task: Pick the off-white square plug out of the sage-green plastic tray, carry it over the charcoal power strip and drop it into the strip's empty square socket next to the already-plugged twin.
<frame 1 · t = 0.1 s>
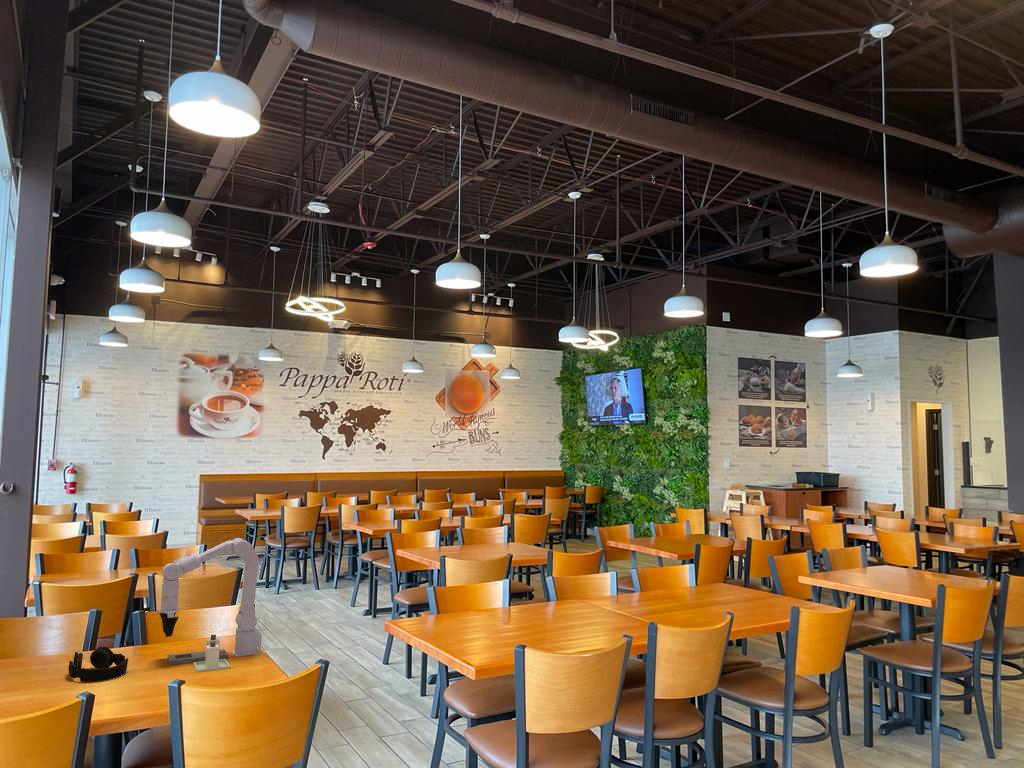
hand: (167, 634, 274), 10 cm above the table, tool pointing down, fingers open, 7 cm apart
plug: (211, 666, 267), resting on tray
headphones: (96, 675, 257), on the table
tray: (211, 667, 267), on the table
power strip: (197, 660, 277), on the table
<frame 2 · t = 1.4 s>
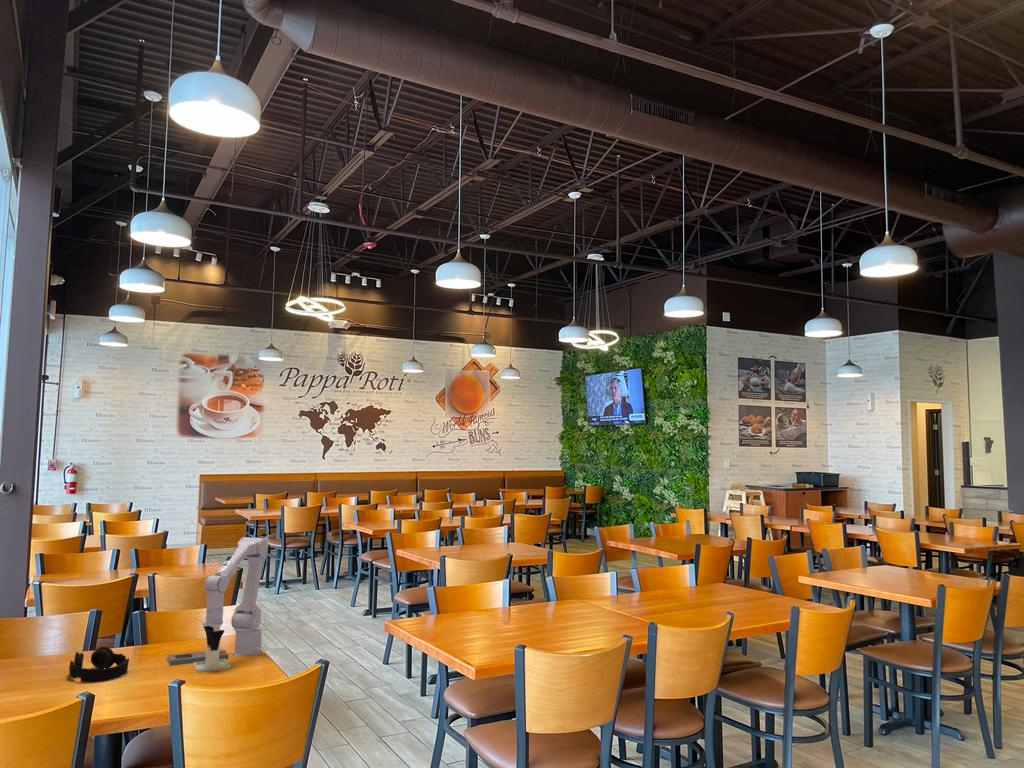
hand: (212, 648, 268), 7 cm above the table, tool pointing down, fingers open, 7 cm apart
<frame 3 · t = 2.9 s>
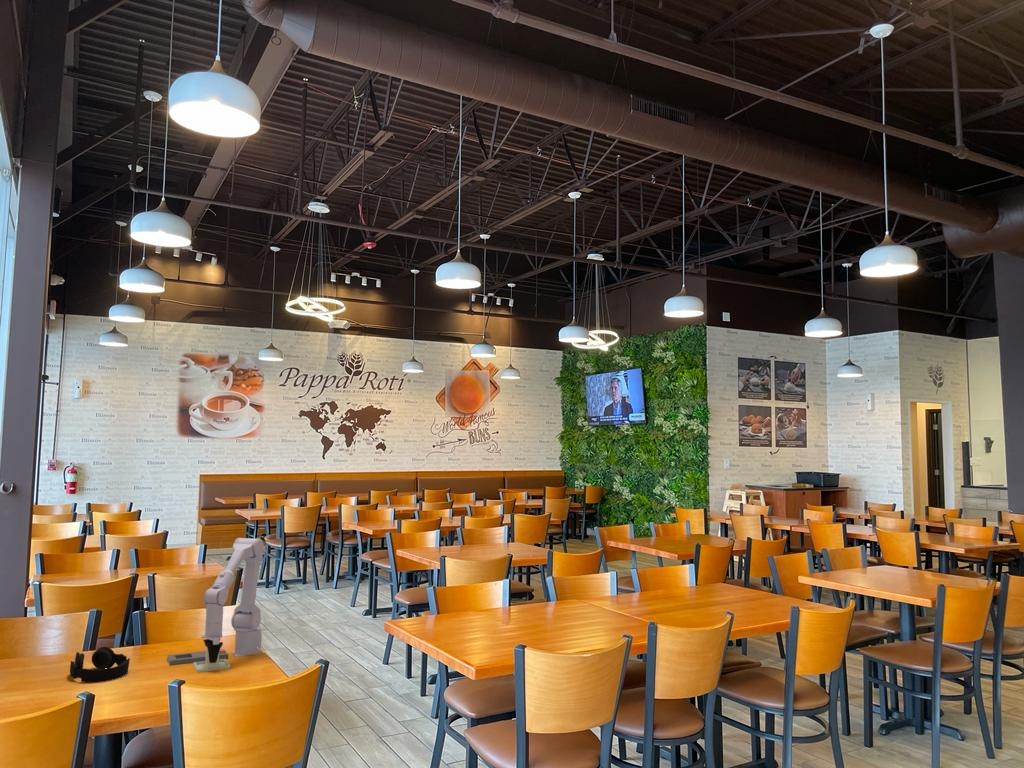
hand: (211, 661, 267), 2 cm above the table, tool pointing down, fingers closed on plug, 4 cm apart
plug: (211, 666, 267), resting on tray, touching gripper
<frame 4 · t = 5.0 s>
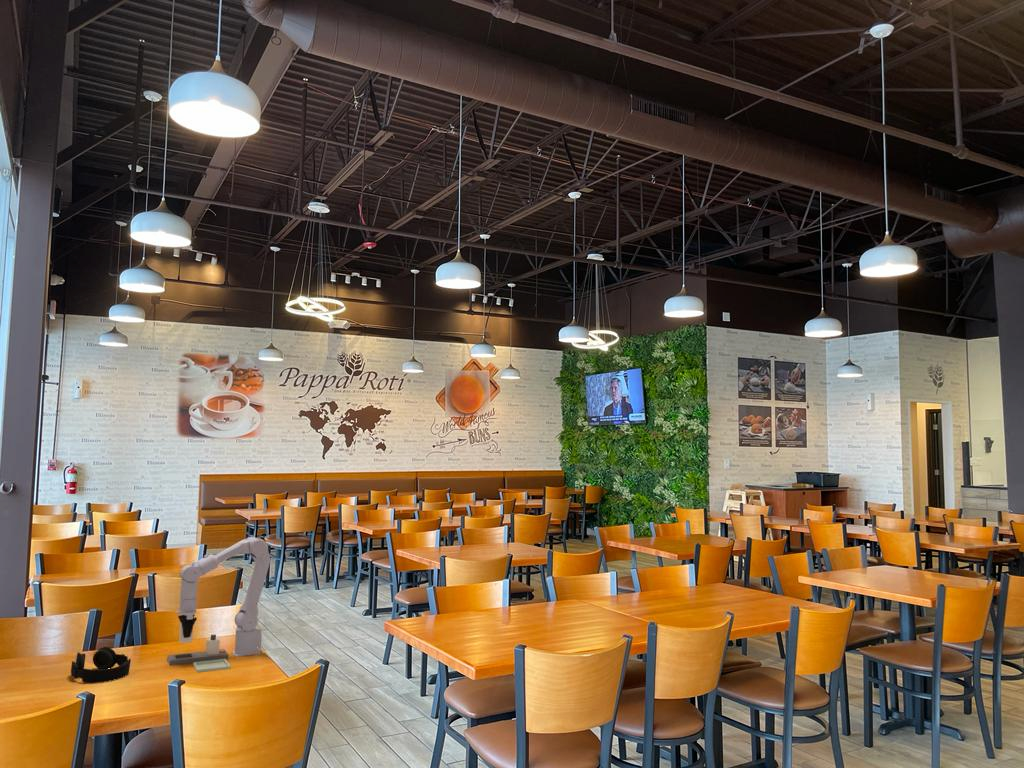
hand: (186, 636, 275), 9 cm above the table, tool pointing down, fingers closed on plug, 4 cm apart
plug: (185, 641, 274), point 7 cm above the table, touching gripper
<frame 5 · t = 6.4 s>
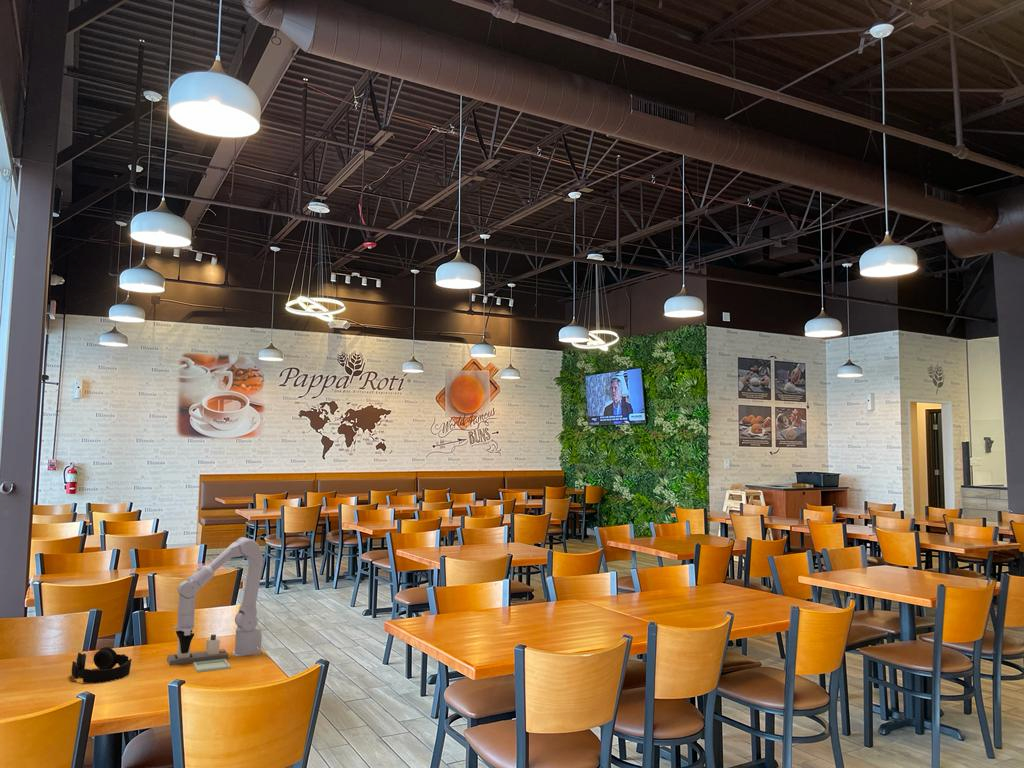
hand: (183, 651, 274), 4 cm above the table, tool pointing down, fingers closed on plug, 4 cm apart
plug: (183, 657, 274), point 2 cm above the table, touching gripper
when the fingers open (3 cm above the table, at t = 7.5 s): plug drops 1 cm, resting in power strip.
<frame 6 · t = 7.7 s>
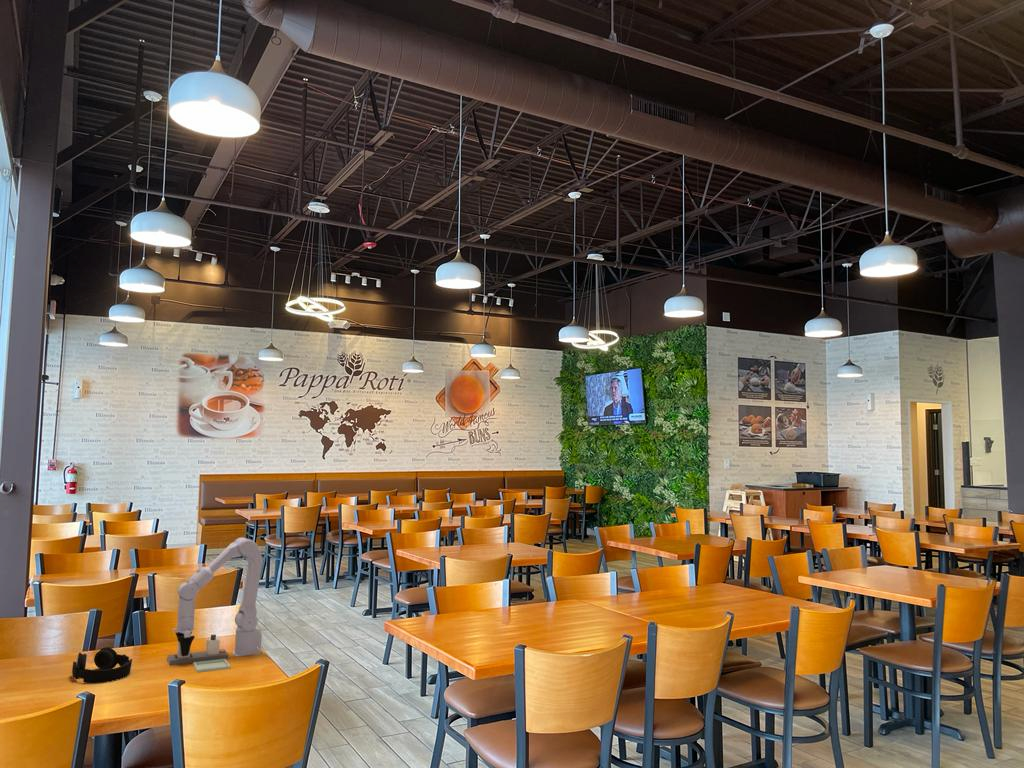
hand: (183, 653, 274), 3 cm above the table, tool pointing down, fingers open, 6 cm apart
plug: (183, 662, 274), resting in power strip
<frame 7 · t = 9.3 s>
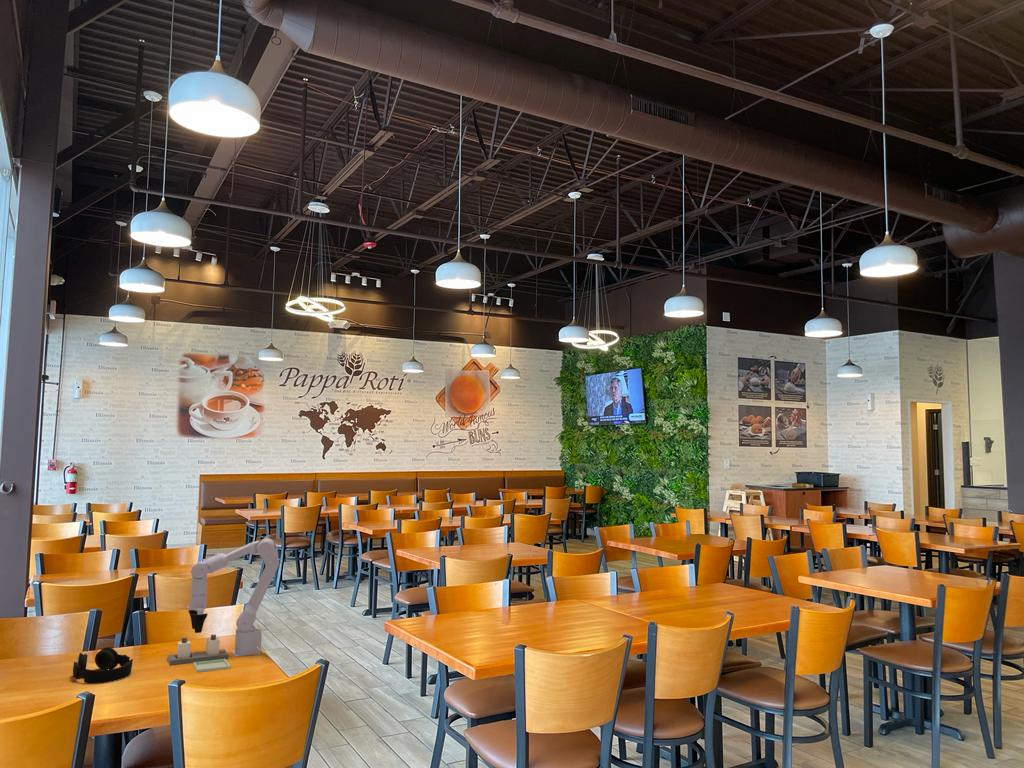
hand: (196, 630, 283), 9 cm above the table, tool pointing down, fingers open, 7 cm apart
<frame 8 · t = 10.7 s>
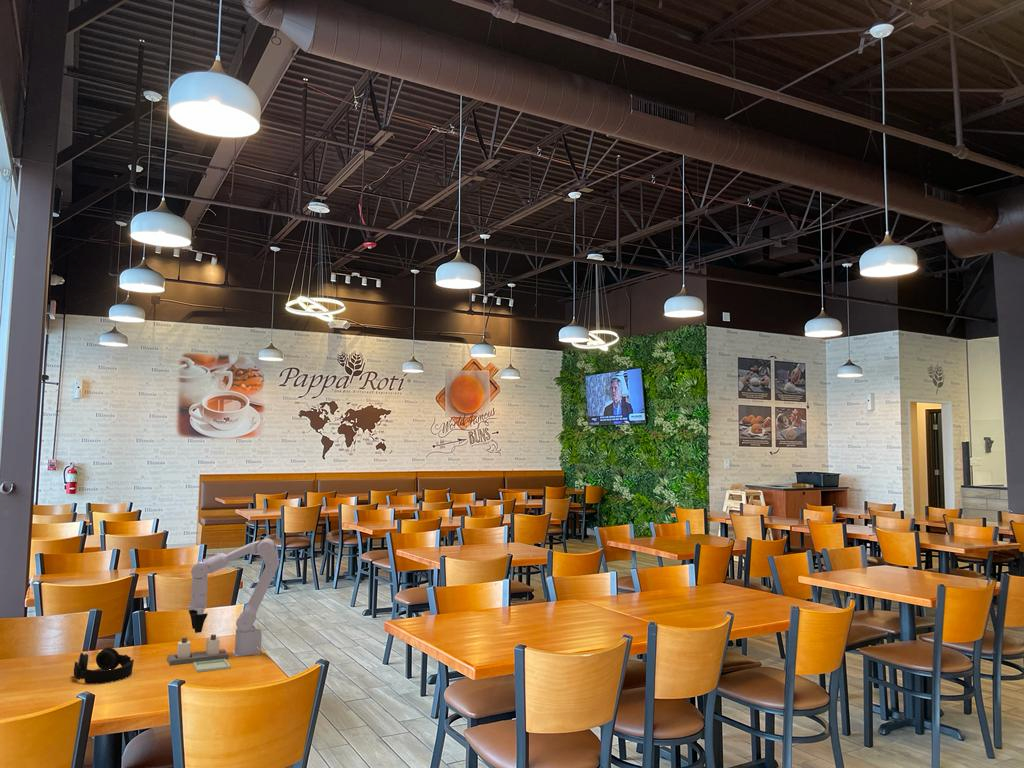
hand: (196, 630, 284), 9 cm above the table, tool pointing down, fingers open, 7 cm apart
at the end: plug 0.1 cm from the target spot on the power strip, point 0.0 cm above the power strip's base; plug tilted 0°; the gripper is holding nothing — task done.
